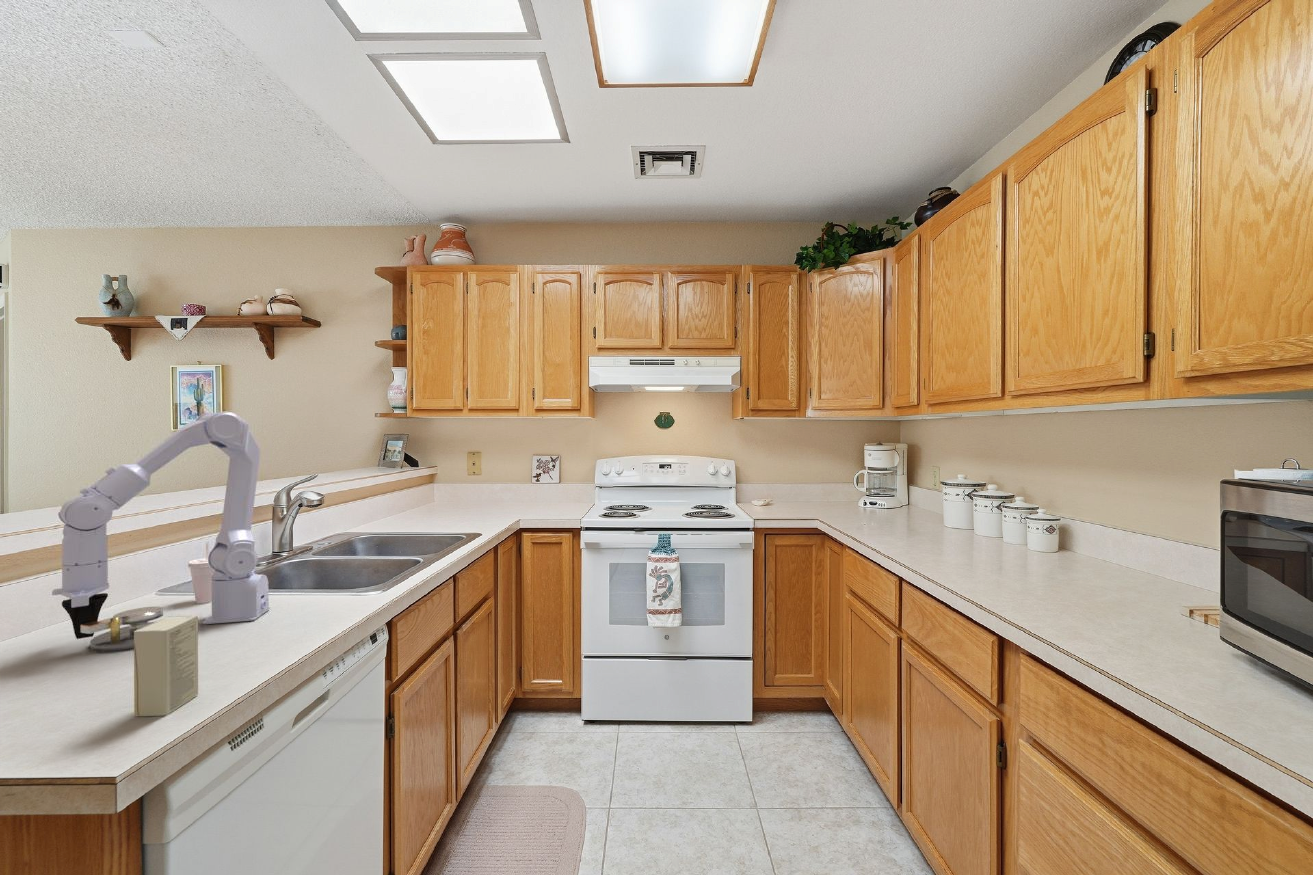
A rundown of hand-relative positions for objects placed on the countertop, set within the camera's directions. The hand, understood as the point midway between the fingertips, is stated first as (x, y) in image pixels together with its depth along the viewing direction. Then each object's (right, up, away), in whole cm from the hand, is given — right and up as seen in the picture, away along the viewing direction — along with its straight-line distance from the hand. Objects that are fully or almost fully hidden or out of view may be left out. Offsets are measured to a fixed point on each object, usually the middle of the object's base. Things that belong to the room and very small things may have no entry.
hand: (85, 636), depth 99 cm
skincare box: (+33, -3, -20) cm, 39 cm away
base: (+4, -3, +6) cm, 8 cm away
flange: (+4, +1, +4) cm, 5 cm away
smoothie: (-2, -3, +29) cm, 30 cm away
